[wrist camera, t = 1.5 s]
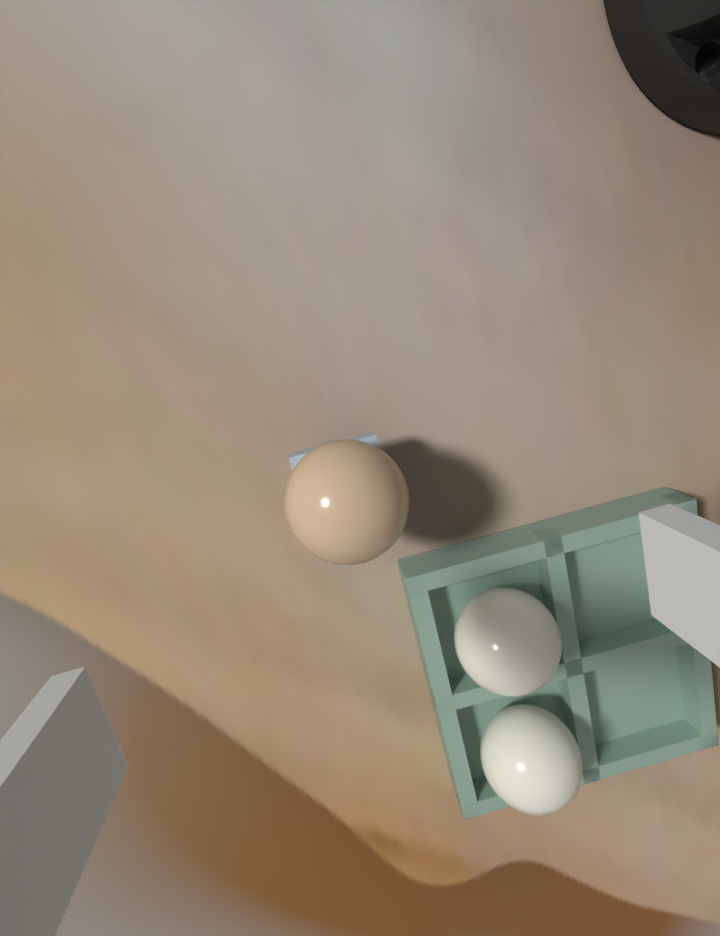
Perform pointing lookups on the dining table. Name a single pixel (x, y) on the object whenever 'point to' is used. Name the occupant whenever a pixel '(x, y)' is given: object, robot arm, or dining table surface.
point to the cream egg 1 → (507, 641)
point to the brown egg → (346, 502)
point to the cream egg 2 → (531, 759)
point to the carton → (567, 644)
